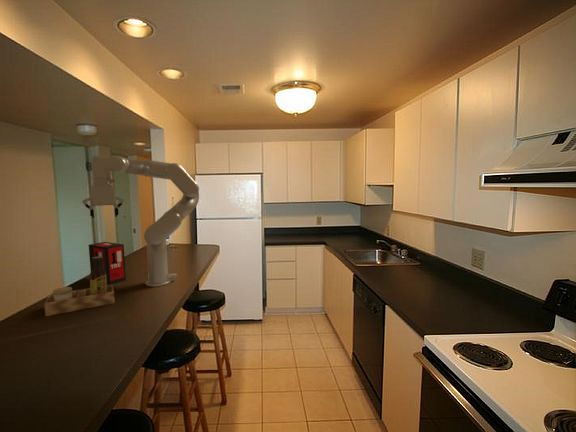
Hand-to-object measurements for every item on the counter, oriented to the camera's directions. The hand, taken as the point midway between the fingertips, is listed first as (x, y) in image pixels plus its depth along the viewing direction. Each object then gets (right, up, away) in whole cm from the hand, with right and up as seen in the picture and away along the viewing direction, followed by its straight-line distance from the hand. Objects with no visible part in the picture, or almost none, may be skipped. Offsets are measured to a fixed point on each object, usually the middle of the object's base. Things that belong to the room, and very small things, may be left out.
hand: (104, 217), depth 146 cm
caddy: (+2, -39, -18) cm, 43 cm away
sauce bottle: (+7, -38, -15) cm, 41 cm away
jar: (-4, -38, -22) cm, 44 cm away
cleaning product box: (-8, -35, +16) cm, 40 cm away
